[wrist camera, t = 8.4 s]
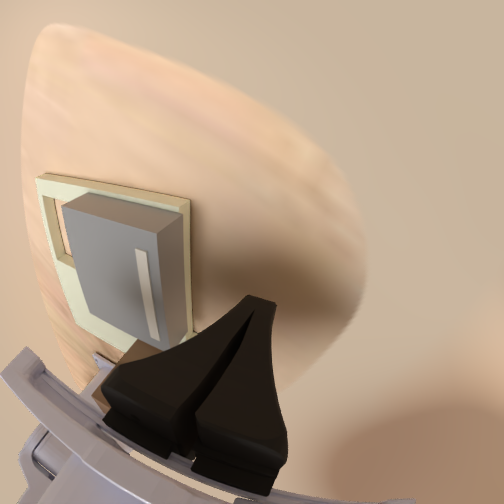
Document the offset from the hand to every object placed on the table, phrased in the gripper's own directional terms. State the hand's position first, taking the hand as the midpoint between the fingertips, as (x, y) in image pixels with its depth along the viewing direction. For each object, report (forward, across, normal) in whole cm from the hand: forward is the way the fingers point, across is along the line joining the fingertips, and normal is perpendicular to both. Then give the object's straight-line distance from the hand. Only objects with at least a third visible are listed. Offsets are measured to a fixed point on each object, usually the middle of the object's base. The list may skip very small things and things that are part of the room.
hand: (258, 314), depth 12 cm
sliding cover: (+1, +7, 0) cm, 7 cm away
